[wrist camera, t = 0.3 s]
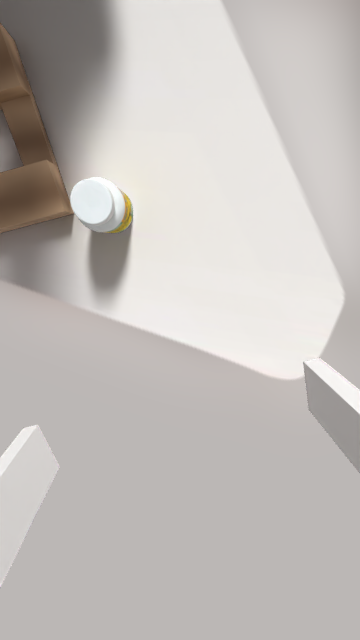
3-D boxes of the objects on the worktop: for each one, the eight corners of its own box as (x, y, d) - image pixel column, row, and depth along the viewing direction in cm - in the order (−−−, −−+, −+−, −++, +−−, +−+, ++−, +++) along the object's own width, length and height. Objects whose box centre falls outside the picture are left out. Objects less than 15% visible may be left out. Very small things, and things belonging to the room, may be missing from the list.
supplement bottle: (108, 179, 32) (83, 155, 23) (142, 208, 33) (131, 197, 24) (84, 214, 33) (51, 205, 24) (118, 242, 35) (98, 243, 25)
